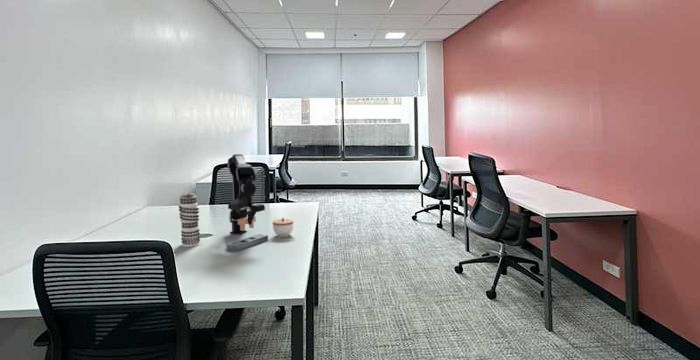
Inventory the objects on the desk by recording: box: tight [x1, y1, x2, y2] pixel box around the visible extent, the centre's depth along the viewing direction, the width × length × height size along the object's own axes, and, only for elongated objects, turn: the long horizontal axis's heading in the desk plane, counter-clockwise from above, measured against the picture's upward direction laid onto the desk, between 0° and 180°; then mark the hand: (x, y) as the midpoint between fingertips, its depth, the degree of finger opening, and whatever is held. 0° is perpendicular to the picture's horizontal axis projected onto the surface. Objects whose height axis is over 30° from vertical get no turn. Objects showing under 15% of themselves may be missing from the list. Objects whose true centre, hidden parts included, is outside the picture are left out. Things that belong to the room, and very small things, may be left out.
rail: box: [225, 233, 269, 252], centre depth 205 cm, size 6×22×2 cm, turn 150°
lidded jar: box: [272, 217, 294, 238], centre depth 221 cm, size 11×11×9 cm
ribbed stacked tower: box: [178, 192, 201, 248], centre depth 206 cm, size 9×9×25 cm
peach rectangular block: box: [238, 215, 257, 231], centre depth 204 cm, size 3×9×6 cm, turn 150°
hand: (247, 224), depth 204 cm, fingers closed on peach rectangular block, 3 cm apart
